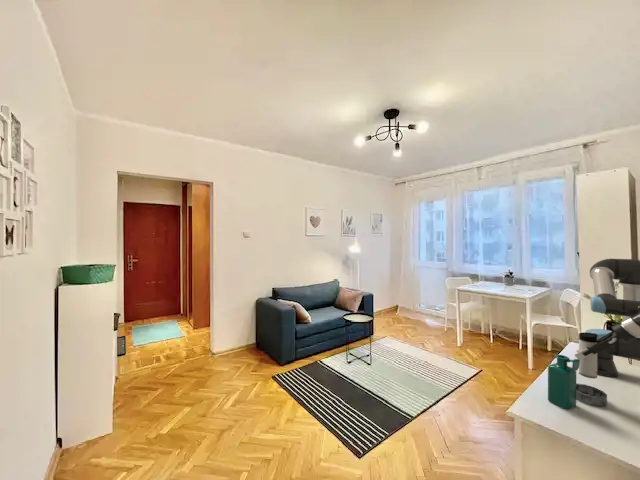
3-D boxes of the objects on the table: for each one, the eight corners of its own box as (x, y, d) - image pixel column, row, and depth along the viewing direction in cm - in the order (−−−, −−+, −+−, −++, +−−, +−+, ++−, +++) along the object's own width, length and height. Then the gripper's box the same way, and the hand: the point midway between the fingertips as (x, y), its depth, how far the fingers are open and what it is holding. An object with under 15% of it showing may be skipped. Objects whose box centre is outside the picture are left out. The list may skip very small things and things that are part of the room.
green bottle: (545, 400, 130) (545, 353, 130) (556, 396, 134) (556, 350, 133) (571, 412, 121) (571, 362, 121) (581, 407, 125) (582, 359, 124)
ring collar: (583, 390, 139) (583, 382, 139) (614, 405, 127) (614, 396, 127) (563, 393, 136) (563, 385, 136) (592, 408, 124) (592, 399, 124)
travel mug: (601, 379, 128) (601, 336, 128) (585, 378, 129) (585, 335, 129) (591, 373, 134) (591, 331, 134) (575, 371, 135) (575, 330, 135)
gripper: (637, 343, 113) (582, 369, 126) (637, 332, 126) (587, 357, 138) (618, 327, 117) (567, 353, 130) (620, 318, 130) (573, 343, 142)
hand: (578, 355), depth 134 cm, fingers closed on travel mug, 6 cm apart
